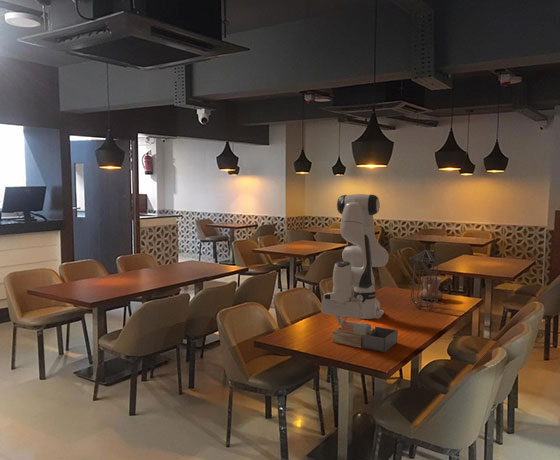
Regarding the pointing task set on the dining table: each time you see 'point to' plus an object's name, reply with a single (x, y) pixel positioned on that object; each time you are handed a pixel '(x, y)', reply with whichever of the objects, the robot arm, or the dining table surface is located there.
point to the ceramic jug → (424, 292)
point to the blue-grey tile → (362, 328)
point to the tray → (380, 339)
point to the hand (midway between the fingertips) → (341, 325)
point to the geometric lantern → (427, 277)
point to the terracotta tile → (348, 325)
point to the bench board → (349, 337)
